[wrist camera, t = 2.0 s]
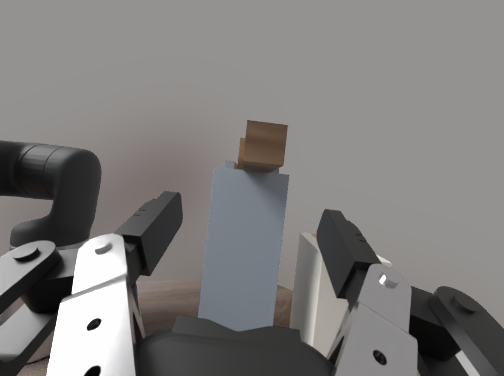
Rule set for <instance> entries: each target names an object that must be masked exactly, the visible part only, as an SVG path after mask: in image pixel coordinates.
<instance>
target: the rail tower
mask: <svg viewBox="0 0 504 376" xmlns="http://www.w3.org/2000/svg"><path fill="white" fill-rule="evenodd" d="M237 167H238V165H237V164H236V163H235V162H234V161H225V168H220V167H214V174H213V183H212V192H211V201H210V211H209V220H208V229H207V238H206V248H205V257H204V266H203V275H202V284H201V293H200V302H199V312H198V318H205V319H209V320H211V321H214V322H216V323H218V324H220V325H223V326H225V327H227V328H230V329H232V330H234V331H245V330H250V329H255V328H261V327H266V326H273V319H274V309H275V300H276V291H277V282H278V272H279V264H280V254H281V246H282V236H283V226H284V218H285V208H286V200H287V191H288V182H289V175H285V174H279V168H278V169H276V170H274V171H272V172H270V173H267V172H257V171H248V170H239V169H237Z"/></svg>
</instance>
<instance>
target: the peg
mask: <svg viewBox="0 0 504 376" xmlns="http://www.w3.org/2000/svg"><path fill="white" fill-rule="evenodd" d="M287 127H288V126H287V125H282V124H274V123H266V122H258V121H250V120H247V129H246V138H241V139H240V148H239V157H238V167H237V169H239V170H248V171H257V172H267V173H270V172H272V171H274V170H276V169H278V168H279V167H281V166H283V164H284V154H285V146H286V136H287Z"/></svg>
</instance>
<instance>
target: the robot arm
mask: <svg viewBox="0 0 504 376" xmlns="http://www.w3.org/2000/svg"><path fill="white" fill-rule="evenodd" d="M100 182H101V165H100V162H99V159H98V158H97V156H96V155H95V154H94V153H92V152H91V151H88V150H85V149H79V148H72V147H64V146H56V145H48V144H39V143H23V142H11V141H0V196H16V197H24V198H33V199H45V200H54V201H53V205H52V208H51V211H50V213H49V215H47V216H45V217H43V218H41V219H36V220H31V221H27V222H23V223H20V224H18V225H16V226H15V227H14V228H13V229H12V232H11V237H10V250H9V252H8V253H7V254H5V255H3V256H2V257H0V315H1V314H2V313H3V314H2V323H1V327H0V376H16V375H17V374H18V373H19V372H20V370H21V369H22V368H23V367H24V365H25V364H26V363H30V362H33V361H36V360H39V359H42V358H44V357H46V356H49V355H51V356H50V362H49V367H48V372H47V376H417V370H418V372H419V374H420V376H469V375H468V373H467V372H466V370H465V369H464V368H463V366H462V365H461V363H460V362H459V360H458V359H457V357H456V356H455V355H456V354H457V353H459V352H460V351H461V350H462V351H463V353H464V354H465V355H466V357H467V358H468V360H469V361H470V362H471V364H472V365H473V367H474V368H475V369H476V371H477V372H478V374H479V375H480V376H504V329H503V328H502V327H501V325H500V324H499V323H498V322H497V321H496V320H495V319H494V318H493V317H492V316H491V315H490V314H489V313H488V312H487V311H486V310H485V309H484V308H483V307H482V306H481V305H480V304H479V303H478V302H476V301H475V300H474V299H472V298H471V297H469V296H468V295H466V294H464V293H463V292H461V291H458V290H456V289H453V288H450V287H445V286H443V287H439V288H438V289H437V290H436V291H435V292H434V293H433V294H432V293H429V292H426V291H424V290H421V289H418V288H415V287H412V286H410V284H409V282H408V281H407V280H406V279H405V277H404V276H403V275H401V274H400V273H399V272H398V271H396V270H394V269H393V268H391V267H389V266H386V265H383V264H382V263H381V261H380V260H379V258H378V257H377V255H376V254H375V252H374V251H373V250H372V248H371V247H370V245H369V244H368V243H367V242H366V239H365V238H364V237H363V236H362V233H361V232H360V231H359V229H358V228H357V227H356V226H355V225H354V224H353V223H351V222H350V221H347V220H346V219H345V217H344V216H343V214H342V213H341V211H337V210H329V209H325V210H324V212H323V215H322V217H321V221H320V223H319V227H318V230H317V234H316V239H317V244H318V247H319V249H320V252H321V255H322V258H323V261H324V264H325V267H326V269H327V272H328V275H329V278H330V281H331V284H332V287H333V289H334V292H335V295H336V298H339V299H347V302H348V304H349V305H348V306H347V308H346V311H345V313H344V316H343V318H342V321H341V323H340V326H339V328H338V331H337V333H336V336H335V339H334V341H333V344H332V346H331V348H330V350H329V352H328V354H327V356H326V357H325V356H324V355H323V354H321V353H320V352H319V351H318V350H316V349H315V348H314V347H312V346H311V345H309V344H307V343H305V342H303V341H301V337H300V330H299V329H292V328H283V327H275V326H266V327H261V328H255V329H250V330H245V331H234V330H232V329H230V328H227V327H225V326H223V325H220V324H218V323H216V322H214V321H211V320H209V319H205V318H196V317H187V316H179V315H177V318H176V320H175V323H174V326H170V327H167V328H163V329H160V330H158V331H156V332H153V333H152V334H150V335H148V336H145V331H144V327H143V322H142V316H141V310H140V303H139V297H138V290H137V284H136V280H137V279H138V277H139V276H140V275H145V276H150V275H151V274H152V272H153V270H154V268H155V267H156V265H157V264H158V262H159V260H160V259H161V257H162V256H163V254H164V252H165V251H166V249H167V247H168V246H169V244H170V243H171V241H172V239H173V238H174V236H175V234H176V233H177V231H178V230H179V228H180V226H181V223H182V219H183V213H182V202H181V195H180V193H178V192H170V191H164V192H163V193H162V194H161V195H160V196H159V197H158V198H157V199H153V200H151V201H149V202H147V203H145V204H144V205H143V206H142V207H141V208H139V210H138V211H136V212H135V213H134V214H133V216H131V217H130V218H129V219H128V220H127V221H126V222H125V223H124V224H123V225H122V226H121V227H120V228H118V229H117V230H116V231H115V232H114V233H113V234H106V235H101V236H98V237H96V238H94V239H91V240H90V241H89V235H90V229H91V226H92V224H93V221H94V218H95V212H96V205H97V199H98V194H99V189H100Z"/></svg>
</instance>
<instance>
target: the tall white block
mask: <svg viewBox="0 0 504 376" xmlns="http://www.w3.org/2000/svg"><path fill="white" fill-rule="evenodd" d="M377 257H378V258H379V260H380V261H381V263H382V264H383V265H386V266H389V267H391V268H392V263H391V262H389V261H387V260H385V259H383V258H381V257H380V256H378V255H377ZM348 305H349V304H348V302H347V299H339V298H336V295H335V292H334V289H333V287H332V284H331V281H330V278H329V275H328V272H327V269H326V267H325V264H324V261H323V258H322V255H321V252H320V249H319V247H318V244H317V239H316V234H312V233H304V232H300V235H299V244H298V253H297V263H296V271H295V280H294V290H293V299H292V308H291V317H290V326H289V328H292V329H299V330H300V337H301V341H303V342H305V343H307V344H309V345H311V346H312V347H314V348H315V349H316V350H318V351H319V352H320V353H321V354H323V355H324V356H325V357H326V356H327V354H328V352H329V350H330V348H331V346H332V344H333V341H334V339H335V336H336V333H337V331H338V328H339V326H340V323H341V321H342V318H343V316H344V313H345V311H346V308H347V306H348Z"/></svg>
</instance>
